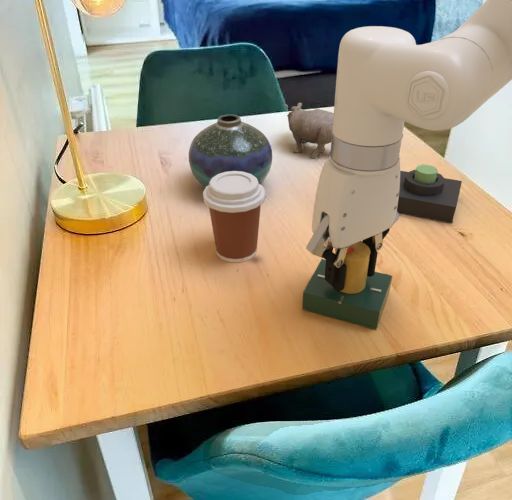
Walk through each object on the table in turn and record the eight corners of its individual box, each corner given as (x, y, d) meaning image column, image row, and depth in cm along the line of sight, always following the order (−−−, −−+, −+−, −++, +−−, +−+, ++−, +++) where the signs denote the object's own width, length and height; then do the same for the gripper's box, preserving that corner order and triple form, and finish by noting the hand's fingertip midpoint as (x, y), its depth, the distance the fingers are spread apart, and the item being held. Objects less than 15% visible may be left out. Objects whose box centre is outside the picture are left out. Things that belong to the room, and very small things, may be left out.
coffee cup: (265, 267, 75) (265, 197, 68) (204, 267, 75) (198, 197, 68) (265, 234, 83) (265, 167, 76) (209, 234, 83) (204, 167, 76)
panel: (389, 291, 70) (393, 273, 69) (376, 331, 64) (379, 312, 62) (320, 274, 74) (322, 256, 72) (301, 310, 67) (302, 292, 66)
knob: (350, 269, 70) (354, 234, 66) (372, 286, 67) (378, 250, 63) (325, 280, 68) (328, 244, 64) (347, 298, 65) (351, 262, 61)
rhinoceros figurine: (330, 159, 99) (307, 86, 99) (289, 177, 111) (268, 111, 110) (357, 152, 104) (335, 82, 103) (315, 170, 115) (295, 106, 114)
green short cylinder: (436, 177, 89) (439, 166, 87) (434, 186, 86) (436, 175, 85) (415, 173, 90) (417, 163, 89) (412, 182, 87) (414, 171, 86)
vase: (268, 166, 103) (269, 102, 95) (275, 204, 91) (276, 133, 83) (193, 169, 102) (187, 104, 95) (189, 207, 90) (182, 136, 82)
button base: (458, 196, 92) (464, 171, 89) (452, 223, 85) (458, 197, 82) (391, 184, 96) (395, 160, 93) (380, 209, 89) (384, 184, 86)
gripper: (394, 122, 62) (375, 244, 73) (283, 155, 55) (280, 285, 66) (443, 142, 57) (415, 270, 68) (327, 181, 50) (316, 318, 60)
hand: (349, 276), depth 67 cm, fingers closed on knob, 4 cm apart
